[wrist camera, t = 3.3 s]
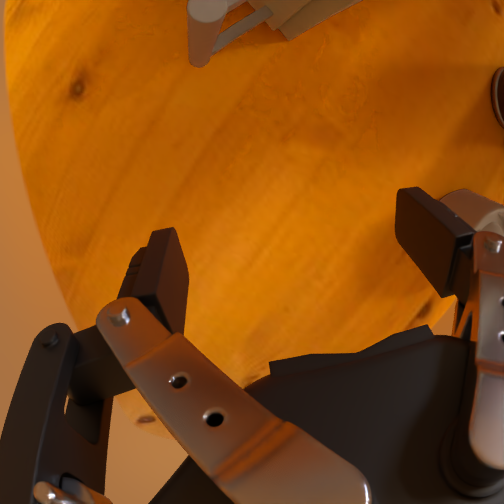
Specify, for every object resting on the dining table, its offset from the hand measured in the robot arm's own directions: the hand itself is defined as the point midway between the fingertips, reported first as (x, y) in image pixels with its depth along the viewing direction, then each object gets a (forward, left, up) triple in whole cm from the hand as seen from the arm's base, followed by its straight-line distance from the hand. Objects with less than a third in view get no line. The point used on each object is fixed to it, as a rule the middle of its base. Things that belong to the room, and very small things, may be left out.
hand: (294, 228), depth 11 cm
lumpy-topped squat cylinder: (-25, -18, -19) cm, 36 cm away
